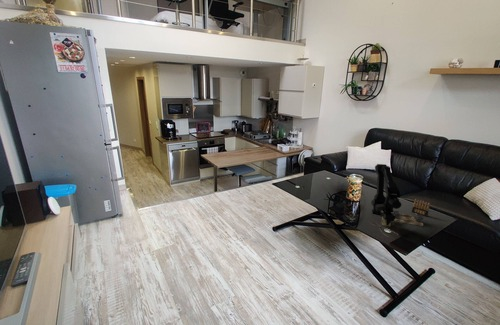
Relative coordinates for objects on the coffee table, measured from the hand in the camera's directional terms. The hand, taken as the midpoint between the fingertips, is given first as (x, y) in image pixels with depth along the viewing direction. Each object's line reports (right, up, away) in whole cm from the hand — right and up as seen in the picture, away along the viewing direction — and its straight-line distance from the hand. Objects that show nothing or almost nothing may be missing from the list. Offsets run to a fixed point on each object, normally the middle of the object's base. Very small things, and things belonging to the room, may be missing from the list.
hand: (386, 222), depth 176 cm
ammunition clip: (+36, +2, +17) cm, 40 cm away
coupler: (0, -2, 0) cm, 2 cm away
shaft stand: (+19, 0, +6) cm, 20 cm away
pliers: (-7, -4, -7) cm, 11 cm away
